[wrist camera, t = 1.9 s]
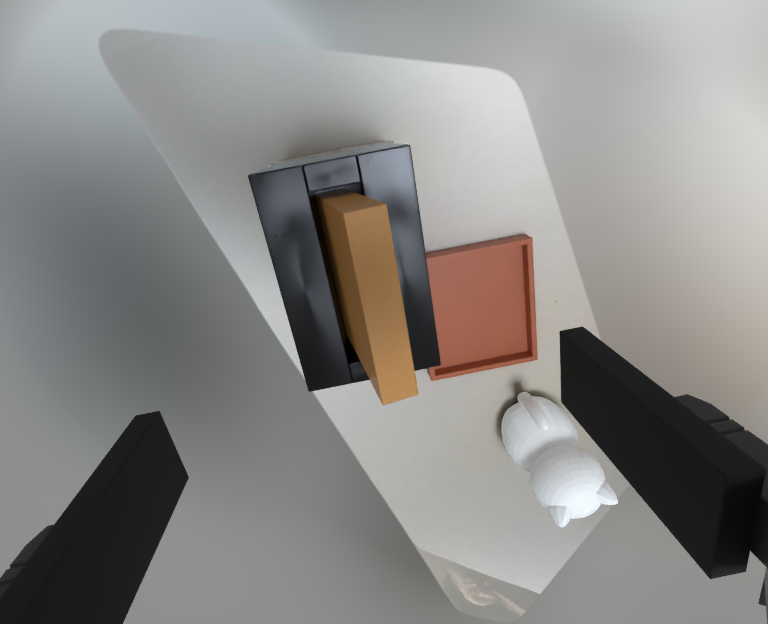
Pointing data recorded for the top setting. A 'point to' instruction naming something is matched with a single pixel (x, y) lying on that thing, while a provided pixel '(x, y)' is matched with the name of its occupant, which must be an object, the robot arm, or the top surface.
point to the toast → (369, 289)
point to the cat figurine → (554, 459)
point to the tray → (483, 305)
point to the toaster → (311, 261)
